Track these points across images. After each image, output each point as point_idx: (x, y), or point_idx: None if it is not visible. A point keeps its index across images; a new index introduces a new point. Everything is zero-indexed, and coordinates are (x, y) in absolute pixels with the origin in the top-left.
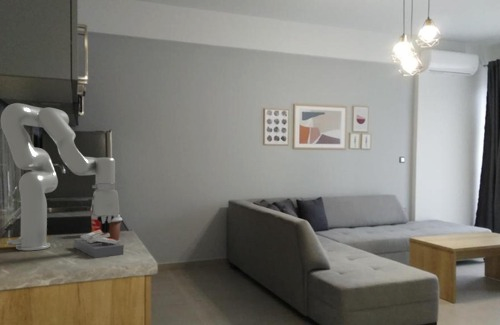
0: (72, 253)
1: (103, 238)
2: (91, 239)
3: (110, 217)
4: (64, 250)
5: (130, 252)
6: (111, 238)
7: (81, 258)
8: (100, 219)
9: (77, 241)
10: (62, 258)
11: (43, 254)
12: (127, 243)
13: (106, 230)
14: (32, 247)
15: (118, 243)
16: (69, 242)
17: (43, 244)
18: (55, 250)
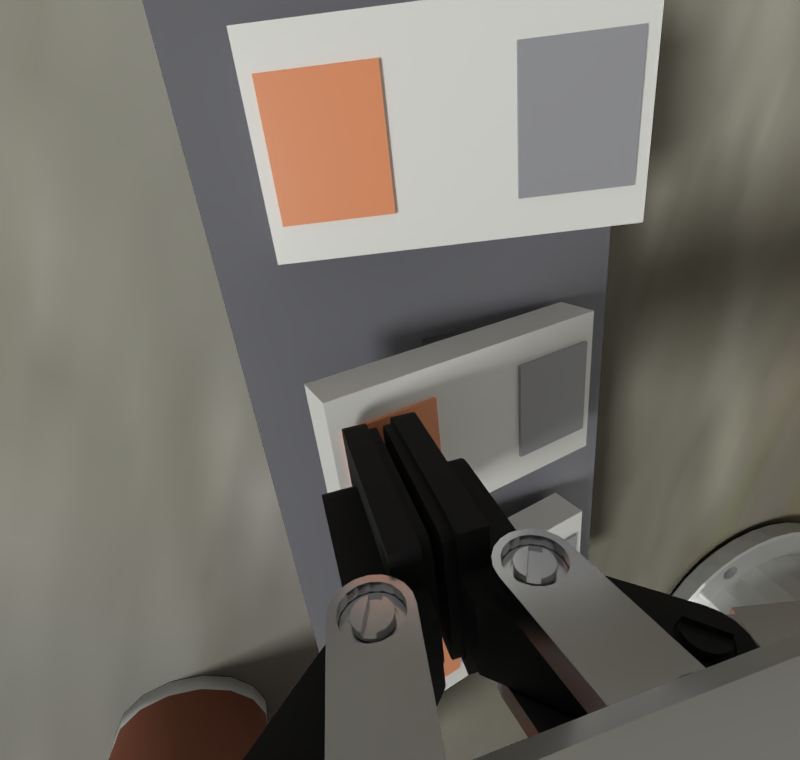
0: (634, 330)
1: (504, 75)
2: (574, 333)
3: (358, 752)
4: (634, 473)
5: (4, 33)
6: (201, 719)
7: (665, 21)
8: (647, 620)
9: (582, 539)
10: (778, 140)
11: (791, 382)
12: (21, 628)
13: (385, 453)
14: (795, 545)
15: (186, 148)
16: (510, 722)
17: (733, 592)
18: (679, 492)
